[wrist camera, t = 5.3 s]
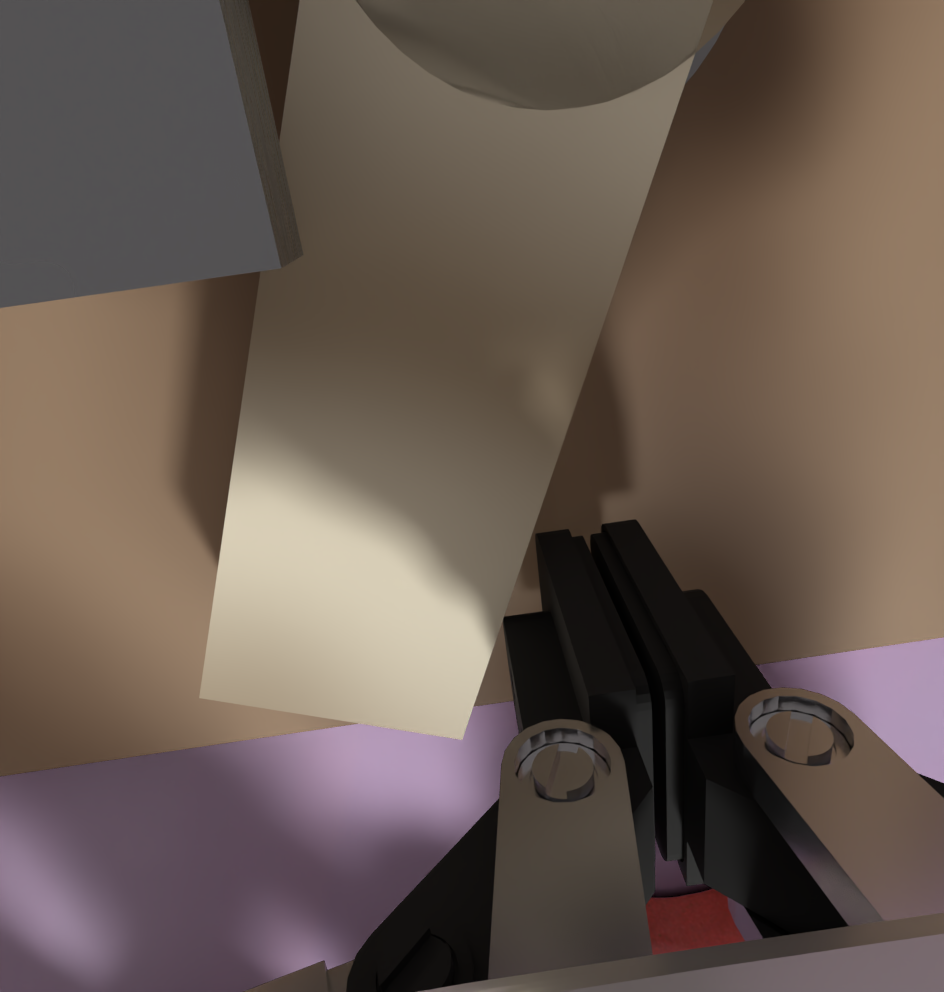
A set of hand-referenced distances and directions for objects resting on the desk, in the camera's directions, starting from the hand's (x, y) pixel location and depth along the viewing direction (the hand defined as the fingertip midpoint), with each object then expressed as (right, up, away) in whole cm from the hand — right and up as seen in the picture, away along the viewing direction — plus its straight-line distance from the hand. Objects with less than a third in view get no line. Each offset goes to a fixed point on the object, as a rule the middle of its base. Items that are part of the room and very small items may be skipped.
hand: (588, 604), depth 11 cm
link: (-2, +5, -2) cm, 6 cm away
